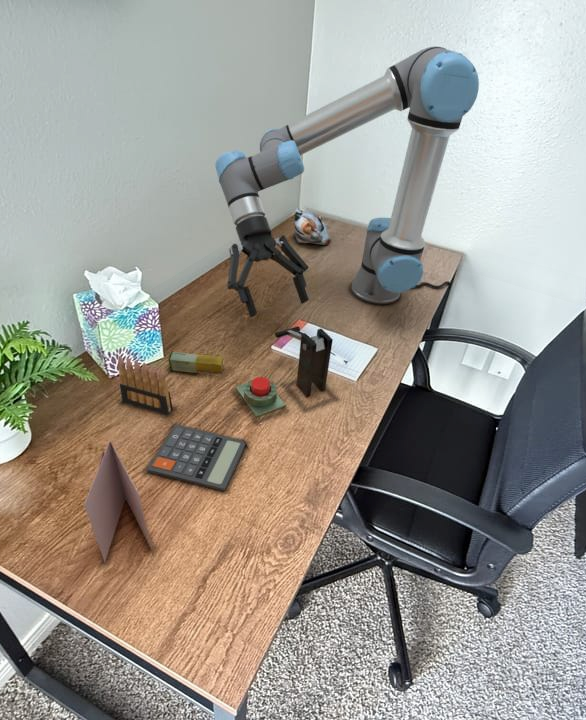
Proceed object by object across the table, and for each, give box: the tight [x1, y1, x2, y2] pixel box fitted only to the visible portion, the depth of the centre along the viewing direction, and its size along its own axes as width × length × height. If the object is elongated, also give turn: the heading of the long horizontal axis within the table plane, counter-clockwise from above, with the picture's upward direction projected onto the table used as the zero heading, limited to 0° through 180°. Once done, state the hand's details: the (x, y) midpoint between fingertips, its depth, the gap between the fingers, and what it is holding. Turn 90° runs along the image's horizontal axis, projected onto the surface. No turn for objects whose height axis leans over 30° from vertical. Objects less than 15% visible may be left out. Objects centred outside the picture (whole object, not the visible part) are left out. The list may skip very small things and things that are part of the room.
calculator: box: [146, 424, 247, 492], centre depth 88 cm, size 12×1×15 cm
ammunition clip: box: [117, 355, 174, 416], centre depth 94 cm, size 11×2×12 cm, turn 75°
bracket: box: [296, 328, 334, 398], centre depth 101 cm, size 9×8×16 cm
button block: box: [235, 379, 287, 418], centre depth 100 cm, size 10×7×4 cm
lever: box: [274, 325, 325, 352], centre depth 102 cm, size 14×6×2 cm, turn 33°
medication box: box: [167, 351, 224, 374], centre depth 106 cm, size 12×3×4 cm, turn 87°
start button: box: [251, 376, 271, 396], centre depth 99 cm, size 4×4×2 cm
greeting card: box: [83, 440, 153, 562], centre depth 71 cm, size 11×7×15 cm, turn 3°
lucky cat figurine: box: [293, 208, 332, 246], centre depth 165 cm, size 15×12×14 cm
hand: (280, 308), depth 107 cm, fingers open, 13 cm apart
